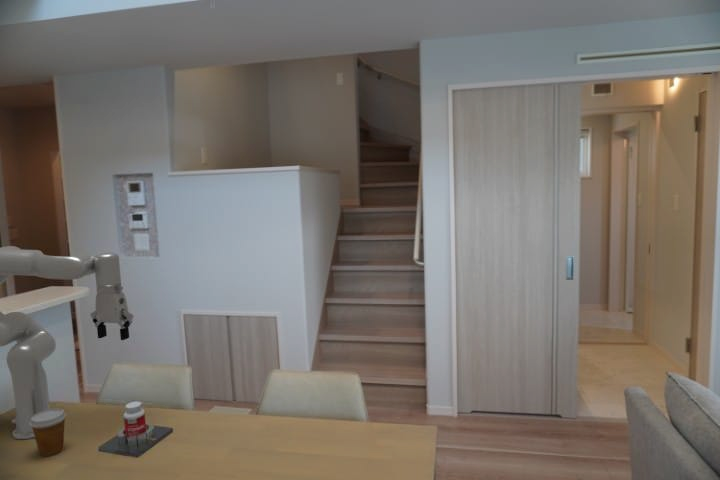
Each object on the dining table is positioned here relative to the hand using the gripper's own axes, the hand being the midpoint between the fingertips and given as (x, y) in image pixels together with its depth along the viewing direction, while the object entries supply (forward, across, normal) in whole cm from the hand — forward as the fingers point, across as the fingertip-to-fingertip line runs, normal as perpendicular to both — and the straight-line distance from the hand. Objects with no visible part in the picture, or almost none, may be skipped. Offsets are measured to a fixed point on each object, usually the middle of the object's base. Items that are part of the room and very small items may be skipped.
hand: (113, 338), depth 165 cm
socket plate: (+30, -15, +9) cm, 35 cm away
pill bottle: (+29, -15, +9) cm, 34 cm away
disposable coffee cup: (+31, +7, +21) cm, 38 cm away
